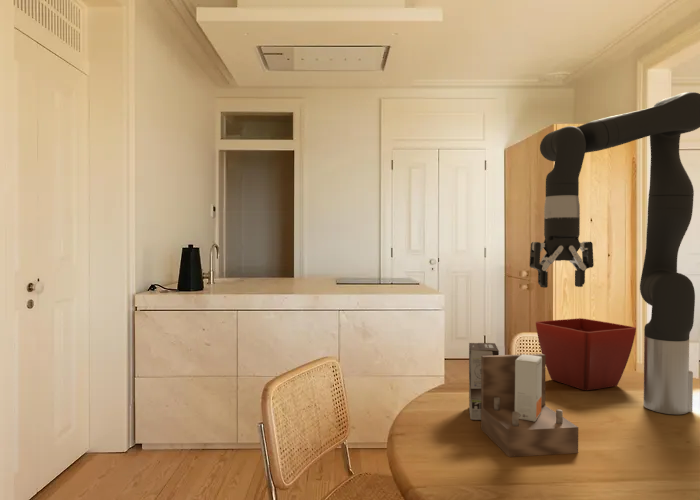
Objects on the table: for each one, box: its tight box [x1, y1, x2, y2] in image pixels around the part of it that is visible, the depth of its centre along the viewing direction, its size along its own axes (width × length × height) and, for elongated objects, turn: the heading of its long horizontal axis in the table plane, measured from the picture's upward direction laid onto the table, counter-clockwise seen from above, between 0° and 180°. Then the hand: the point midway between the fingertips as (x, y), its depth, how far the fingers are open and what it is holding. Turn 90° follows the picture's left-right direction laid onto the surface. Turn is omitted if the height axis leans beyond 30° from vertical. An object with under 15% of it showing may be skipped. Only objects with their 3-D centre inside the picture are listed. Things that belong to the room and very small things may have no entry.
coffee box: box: [468, 342, 500, 421], centre depth 119 cm, size 9×6×16 cm
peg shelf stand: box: [480, 353, 579, 458], centre depth 104 cm, size 14×14×16 cm
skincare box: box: [515, 353, 542, 422], centre depth 104 cm, size 6×4×12 cm
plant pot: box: [535, 317, 637, 391], centre depth 144 cm, size 19×19×17 cm
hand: (561, 287), depth 117 cm, fingers open, 8 cm apart
